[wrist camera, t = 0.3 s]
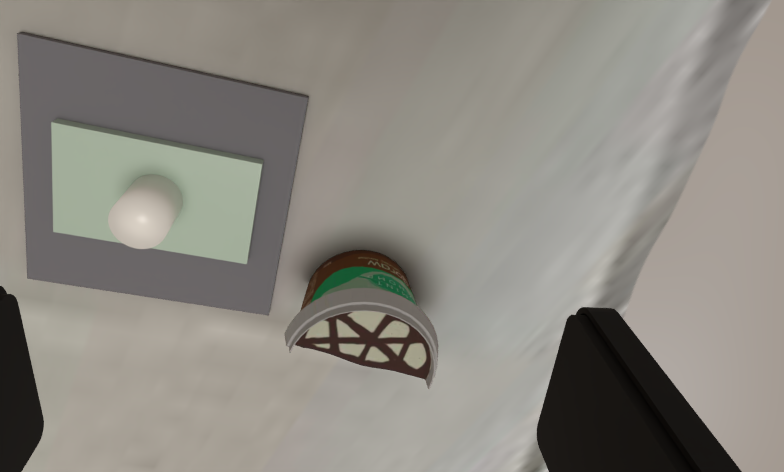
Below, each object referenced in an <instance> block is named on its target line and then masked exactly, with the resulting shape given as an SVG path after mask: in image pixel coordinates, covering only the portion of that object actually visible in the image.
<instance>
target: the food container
mask: <svg viewBox="0 0 784 472" xmlns="http://www.w3.org/2000/svg"><path fill="white" fill-rule="evenodd" d="M285 340H286V346H288V347H289V353H290V352H291V351H292V349H293V347H294V345H297V346H300V347H303V348H310V349H314V350H318V351H321V352H325V353H328V354H331V355H334V356H337V357H340V358H342V359H345V360H348V361H350V362H353V363H356V364H359V365H362V366H367V367H373V368H380V369H386V370H392V371H396V372H400V373H404V374H408V375H412V376H415V377H419V378H422V379H425V380H426V383H427V386H428V389H430V386H431V384H432V382H433V379H434V377H435V373H436V369H437V360H438V341H437V335H436V332H435V330H434V327H433V325H432V323H431V322H430V320H429V318H428V317H427V316H426V315H425V313H424V312H423V311H422V310H421V309H420V308H419V307H417V305H416V302H415V299H414V296H413V294H412V291H411V288H410V286H409V283H408V280H407V277H406V275H405V273H404V272H403V271H402V269H401V268H400V267H399V266H398V264H397V263H396V262H394V261H393V260H391V259H390V258H388V257H387V256H385V255H382V254H380V253H377V252H373V251H366V250H355V251H349V252H344V253H341V254H338V255H336V256H334V257H332V258H330V259H329V260H327V261H326V262H324V263H323V264H322V265H321V266H320V267H319V268H318V269H317V270H316V272H315V273H314V274H313V276H312V278H311V280H310V282H309V284H308V287H307V291H306V294H305V297H304V301H303V304H302V307H301V311H300V312H299V313H298V314H297V315H296V316H295V318H294V319H293V320H292V322H291V323H290V324H289V326H288V328H287V330H286V332H285Z"/></svg>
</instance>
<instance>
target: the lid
mask: <svg viewBox="0 0 784 472" xmlns="http://www.w3.org/2000/svg"><path fill="white" fill-rule="evenodd" d="M51 134H52V190H53V232H57V233H63V234H69V235H75V236H81V237H87V238H93V239H99V240H105V241H111V242H117V243H123V244H125V245H127V246H129V247H132V248H136V249H149V248H153V249H159V250H165V251H171V252H177V253H183V254H189V255H195V256H200V257H206V258H212V259H218V260H224V261H230V262H236V263H242V264H247V262H248V258H249V252H250V246H251V239H252V233H253V226H254V220H255V213H256V207H257V200H258V194H259V187H260V181H261V174H262V168H263V162H264V160H262V159H257V158H252V157H247V156H242V155H237V154H232V153H227V152H222V151H217V150H212V149H207V148H202V147H197V146H192V145H187V144H182V143H177V142H172V141H167V140H162V139H158V138H153V137H148V136H143V135H138V134H133V133H128V132H123V131H118V130H113V129H108V128H103V127H98V126H93V125H88V124H83V123H78V122H73V121H68V120H63V119H58V118H57V119H56V120H54V121H53V122H51Z"/></svg>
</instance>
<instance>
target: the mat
mask: <svg viewBox="0 0 784 472" xmlns="http://www.w3.org/2000/svg"><path fill="white" fill-rule="evenodd" d="M17 40H18V64H19V88H20V112H21V136H22V160H23V184H24V208H25V232H26V256H27V279H34V280H41V281H47V282H54V283H60V284H67V285H73V286H80V287H86V288H93V289H99V290H106V291H112V292H119V293H125V294H132V295H139V296H145V297H152V298H158V299H165V300H171V301H178V302H184V303H191V304H197V305H204V306H210V307H217V308H223V309H230V310H237V311H243V312H250V313H256V314H263V315H269V311H270V306H271V300H272V295H273V289H274V284H275V278H276V273H277V267H278V262H279V256H280V251H281V245H282V240H283V234H284V229H285V223H286V218H287V212H288V207H289V201H290V196H291V190H292V185H293V179H294V174H295V168H296V162H297V157H298V151H299V146H300V140H301V135H302V129H303V124H304V118H305V113H306V107H307V102H308V96H305V95H301V94H296V93H292V92H287V91H283V90H278V89H274V88H269V87H265V86H260V85H256V84H251V83H247V82H242V81H238V80H233V79H229V78H225V77H220V76H216V75H211V74H207V73H202V72H198V71H193V70H189V69H184V68H180V67H175V66H171V65H166V64H162V63H157V62H153V61H149V60H144V59H140V58H135V57H131V56H126V55H122V54H117V53H113V52H108V51H104V50H99V49H95V48H90V47H86V46H82V45H77V44H73V43H68V42H64V41H59V40H55V39H50V38H46V37H41V36H37V35H32V34H28V33H23V32H20V33H17ZM57 118H58V119H63V120H68V121H73V122H78V123H83V124H88V125H93V126H98V127H103V128H108V129H113V130H118V131H123V132H128V133H133V134H138V135H143V136H148V137H153V138H158V139H162V140H167V141H172V142H177V143H182V144H187V145H192V146H197V147H202V148H207V149H212V150H217V151H222V152H227V153H232V154H237V155H242V156H247V157H252V158H257V159H262V160H264V162H263V168H262V174H261V181H260V187H259V194H258V200H257V207H256V213H255V220H254V226H253V233H252V239H251V246H250V252H249V258H248V262H247V264H242V263H236V262H230V261H224V260H218V259H212V258H206V257H200V256H195V255H189V254H183V253H177V252H171V251H165V250H159V249H153V248H149V249H136V248H132V247H129V246H127V245H125V244H123V243H117V242H111V241H105V240H99V239H93V238H87V237H81V236H75V235H69V234H63V233H57V232H53V190H52V134H51V122H53V121H54V120H56V119H57Z"/></svg>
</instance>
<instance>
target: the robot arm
mask: <svg viewBox="0 0 784 472" xmlns="http://www.w3.org/2000/svg"><path fill="white" fill-rule="evenodd" d="M43 427H44V420H43V415H42V410H41V406H40V401H39V396H38V392H37V387H36V383H35V378H34V374H33V369H32V365H31V360H30V356H29V351H28V347H27V342H26V337H25V333H24V328H23V324H22V319H21V315H20V310H19V306H18V302H17V299H16V298H15V296H14V295H11V294H7V293H6V291H5V289H4V288H3V287H2V286H0V472H21V471H22V470H23V468H24V466H25V465H26V463H27V461H28V460H29V458H30V457H31V455H32V453H33V452H34V450H35V448H36V447H37V445H38V443H39V441H40V439H41V436H42V433H43ZM537 441H538V445H539V448H540V451H541V453H542V456H543V458H544V461H545V463H546V465H547V468H548V470H549V472H741V471H740V469H739V468H738V466H737V465H736V464H735V463H734V461H733V460H732V459H731V457H730V456H729V455H728V454H727V452H726V451H725V450H724V448H723V447H722V446H721V444H720V443H719V442H718V441H717V439H716V438H715V437H714V436H713V434H712V433H711V432H710V431H709V429H708V428H707V426H706V425H705V424H704V423H703V421H702V420H701V419H700V418H699V416H698V415H697V414H696V412H695V411H694V410H693V408H692V407H691V406H690V405H689V403H688V402H687V401H686V399H685V398H684V397H683V396H682V394H681V393H680V392H679V390H678V389H677V388H676V387H675V385H674V384H673V383H672V381H671V380H670V379H669V378H668V376H667V375H666V374H665V373H664V371H663V370H662V369H661V367H660V366H659V365H658V363H657V362H656V361H655V360H654V358H653V357H652V356H651V355H650V353H649V352H648V351H647V349H646V348H645V347H644V345H643V344H642V343H641V342H640V340H639V339H638V338H637V336H636V335H635V334H634V333H633V331H632V330H631V329H630V327H629V326H628V325H627V324H626V322H625V321H624V320H623V318H622V317H621V316H620V314H619V313H618V312H617V311H616V310H615V309H611V308H589V307H582V308H580V309H579V310H578V312H577V313H576V315H570V316H569V317H568V319H567V322H566V325H565V328H564V332H563V336H562V339H561V343H560V346H559V350H558V354H557V357H556V361H555V364H554V368H553V372H552V375H551V379H550V382H549V386H548V390H547V393H546V397H545V400H544V404H543V408H542V411H541V415H540V418H539V422H538V426H537Z"/></svg>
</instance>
